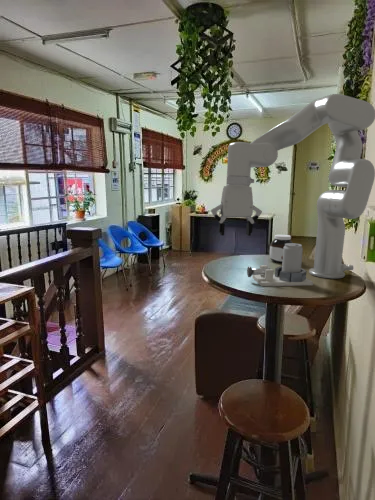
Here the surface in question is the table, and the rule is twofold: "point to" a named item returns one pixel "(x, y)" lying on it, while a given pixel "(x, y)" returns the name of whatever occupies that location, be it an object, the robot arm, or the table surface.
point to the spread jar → (278, 247)
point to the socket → (290, 275)
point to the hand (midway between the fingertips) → (235, 234)
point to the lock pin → (255, 271)
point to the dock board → (276, 279)
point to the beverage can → (292, 258)
